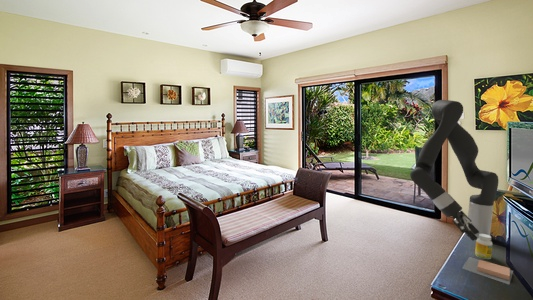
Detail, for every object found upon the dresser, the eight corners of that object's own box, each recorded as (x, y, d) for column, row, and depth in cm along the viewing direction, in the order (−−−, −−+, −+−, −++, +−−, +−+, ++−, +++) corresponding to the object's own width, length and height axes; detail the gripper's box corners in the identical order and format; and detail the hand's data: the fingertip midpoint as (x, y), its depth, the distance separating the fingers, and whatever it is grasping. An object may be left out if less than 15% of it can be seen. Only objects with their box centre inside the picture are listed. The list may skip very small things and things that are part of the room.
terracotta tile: (477, 266, 101) (509, 276, 95) (479, 259, 106) (509, 268, 100) (477, 270, 101) (509, 280, 95) (478, 263, 106) (509, 272, 100)
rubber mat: (469, 258, 111) (469, 257, 111) (513, 272, 101) (513, 270, 101) (461, 269, 102) (461, 268, 102) (509, 286, 92) (509, 284, 92)
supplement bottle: (477, 252, 116) (479, 231, 115) (493, 258, 111) (495, 236, 110) (472, 256, 113) (474, 234, 112) (488, 261, 108) (490, 239, 107)
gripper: (451, 203, 112) (483, 237, 106) (456, 196, 123) (486, 227, 116) (436, 212, 116) (465, 245, 110) (442, 205, 127) (469, 235, 121)
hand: (476, 236), depth 113 cm, fingers open, 8 cm apart
